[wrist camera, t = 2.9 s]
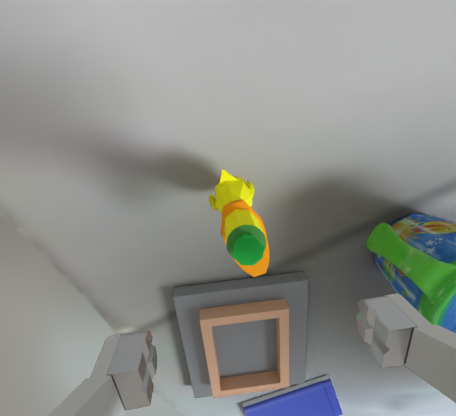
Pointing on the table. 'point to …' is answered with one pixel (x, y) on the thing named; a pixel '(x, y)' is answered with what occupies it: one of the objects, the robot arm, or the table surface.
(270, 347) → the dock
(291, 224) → the table surface
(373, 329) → the robot arm
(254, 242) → the toy figure
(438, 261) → the snack cup
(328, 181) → the table surface
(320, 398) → the hard drive
